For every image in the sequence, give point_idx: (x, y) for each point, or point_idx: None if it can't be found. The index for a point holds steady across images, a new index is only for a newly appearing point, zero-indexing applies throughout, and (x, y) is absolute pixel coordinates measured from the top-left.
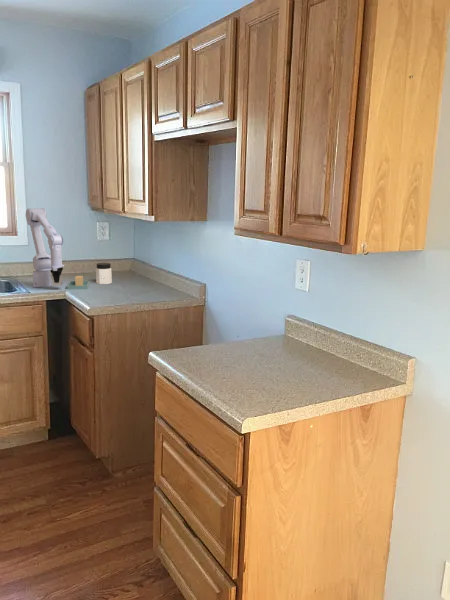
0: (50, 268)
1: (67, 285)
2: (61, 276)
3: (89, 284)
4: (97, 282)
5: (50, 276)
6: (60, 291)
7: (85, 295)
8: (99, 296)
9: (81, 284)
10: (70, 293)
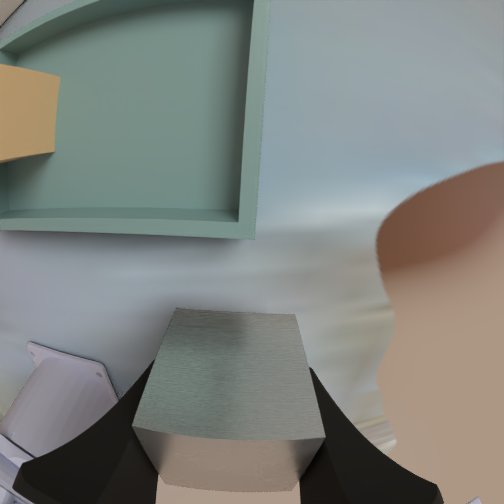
0: (2, 454)
1: (219, 234)
2: (246, 413)
3: (26, 42)
4: (1, 15)
5: (31, 405)
6: (303, 287)
7: (491, 81)
8: (500, 20)
9: (50, 86)
10: (424, 185)
